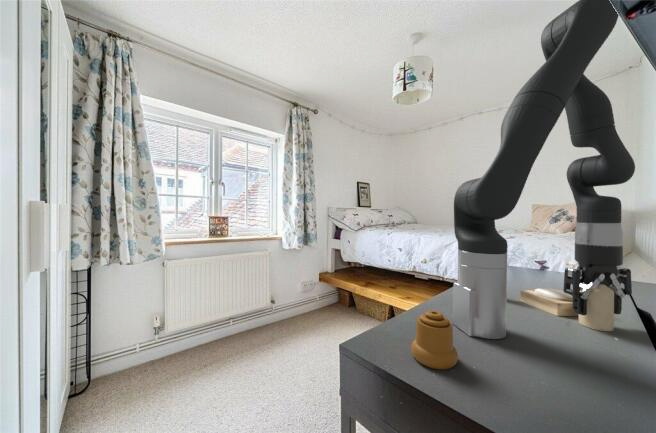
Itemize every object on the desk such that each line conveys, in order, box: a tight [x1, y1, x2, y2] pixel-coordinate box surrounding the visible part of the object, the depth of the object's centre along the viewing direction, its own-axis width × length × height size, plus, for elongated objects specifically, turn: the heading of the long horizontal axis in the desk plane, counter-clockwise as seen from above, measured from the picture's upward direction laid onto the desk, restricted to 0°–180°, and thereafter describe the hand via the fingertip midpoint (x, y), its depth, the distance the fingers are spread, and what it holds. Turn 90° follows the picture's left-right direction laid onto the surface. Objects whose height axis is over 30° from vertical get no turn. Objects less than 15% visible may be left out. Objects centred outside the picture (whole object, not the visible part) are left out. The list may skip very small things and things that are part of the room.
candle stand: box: [519, 287, 579, 317], centre depth 70 cm, size 11×11×4 cm
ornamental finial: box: [410, 309, 459, 370], centre depth 44 cm, size 8×8×8 cm
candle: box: [578, 283, 615, 332], centre depth 58 cm, size 6×6×10 cm
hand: (597, 313), depth 58 cm, fingers open, 8 cm apart
